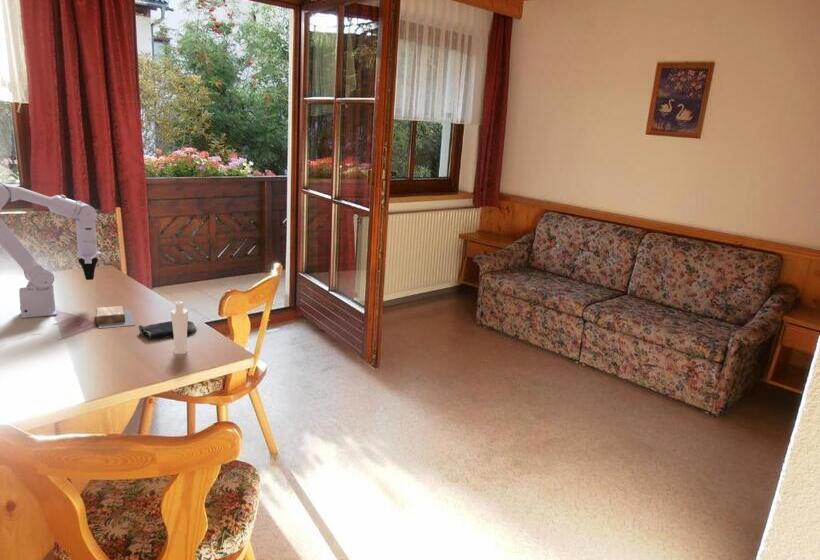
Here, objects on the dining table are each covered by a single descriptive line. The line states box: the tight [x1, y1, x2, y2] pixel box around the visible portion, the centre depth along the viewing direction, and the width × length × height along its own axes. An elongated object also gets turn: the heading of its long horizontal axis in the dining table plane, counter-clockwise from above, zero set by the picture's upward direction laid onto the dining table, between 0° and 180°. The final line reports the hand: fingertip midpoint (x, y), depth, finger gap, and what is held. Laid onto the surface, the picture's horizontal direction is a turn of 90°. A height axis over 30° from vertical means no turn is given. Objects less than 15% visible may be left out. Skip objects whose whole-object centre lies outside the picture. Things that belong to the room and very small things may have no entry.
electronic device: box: [138, 320, 197, 341], centre depth 177 cm, size 10×6×15 cm
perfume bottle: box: [170, 300, 189, 355], centre depth 163 cm, size 5×4×15 cm
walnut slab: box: [95, 305, 125, 325], centre depth 185 cm, size 3×9×8 cm
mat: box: [98, 308, 136, 330], centre depth 186 cm, size 10×16×1 cm, turn 29°
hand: (89, 279), depth 193 cm, fingers closed
